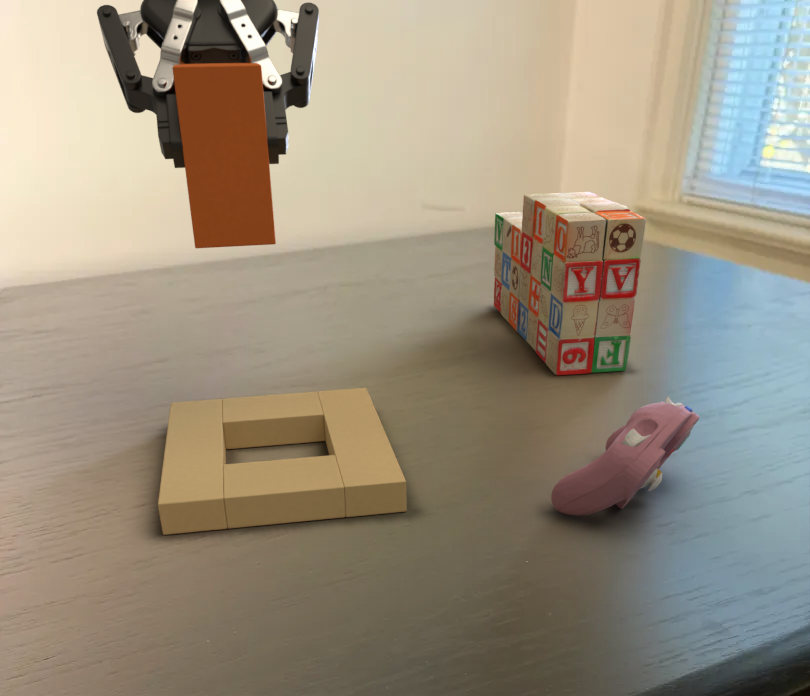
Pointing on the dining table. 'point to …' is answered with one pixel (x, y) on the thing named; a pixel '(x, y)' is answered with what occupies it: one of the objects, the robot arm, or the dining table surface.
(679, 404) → the pink curved elongated piece
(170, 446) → the base pad
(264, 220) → the upright block
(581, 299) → the stack of blocks
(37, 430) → the dining table surface
